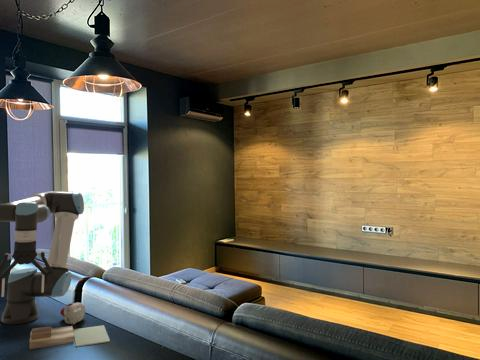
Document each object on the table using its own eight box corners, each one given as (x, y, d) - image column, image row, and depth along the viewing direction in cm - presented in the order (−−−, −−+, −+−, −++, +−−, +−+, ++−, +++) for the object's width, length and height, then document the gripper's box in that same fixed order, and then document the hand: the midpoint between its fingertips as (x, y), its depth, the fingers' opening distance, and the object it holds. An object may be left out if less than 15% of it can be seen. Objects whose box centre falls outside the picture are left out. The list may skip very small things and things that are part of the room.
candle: (76, 326, 163) (51, 325, 168) (94, 318, 174) (70, 317, 179) (75, 306, 164) (50, 305, 169) (93, 299, 174) (69, 299, 179)
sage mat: (73, 330, 160) (73, 329, 160) (103, 326, 167) (103, 325, 167) (76, 347, 145) (76, 345, 145) (109, 341, 151) (109, 340, 151)
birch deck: (30, 337, 152) (30, 331, 152) (72, 331, 159) (72, 325, 159) (29, 349, 141) (29, 342, 141) (73, 342, 149) (74, 336, 149)
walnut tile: (31, 333, 150) (32, 328, 150) (50, 330, 153) (51, 326, 153) (31, 340, 144) (31, 335, 144) (51, 337, 147) (51, 332, 147)
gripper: (-14, 243, 133) (-17, 300, 133) (61, 240, 146) (58, 292, 146) (-12, 240, 140) (-15, 294, 140) (59, 237, 153) (57, 287, 153)
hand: (23, 293), depth 143 cm, fingers open, 13 cm apart
